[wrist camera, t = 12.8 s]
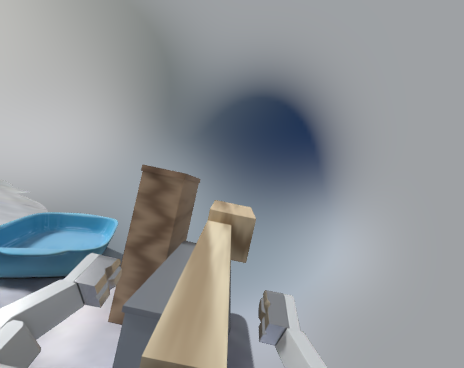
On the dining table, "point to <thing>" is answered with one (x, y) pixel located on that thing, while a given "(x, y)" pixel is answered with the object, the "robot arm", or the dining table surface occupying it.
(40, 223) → the casserole dish
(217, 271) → the mallet
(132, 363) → the storage box
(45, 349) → the dining table surface
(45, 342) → the dining table surface
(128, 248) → the shelf block
